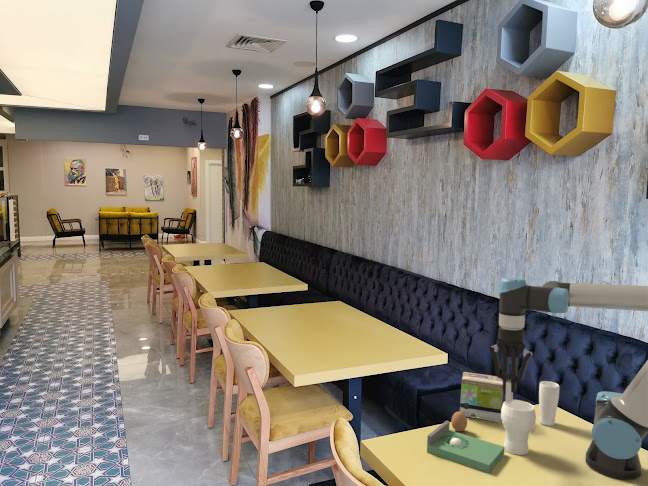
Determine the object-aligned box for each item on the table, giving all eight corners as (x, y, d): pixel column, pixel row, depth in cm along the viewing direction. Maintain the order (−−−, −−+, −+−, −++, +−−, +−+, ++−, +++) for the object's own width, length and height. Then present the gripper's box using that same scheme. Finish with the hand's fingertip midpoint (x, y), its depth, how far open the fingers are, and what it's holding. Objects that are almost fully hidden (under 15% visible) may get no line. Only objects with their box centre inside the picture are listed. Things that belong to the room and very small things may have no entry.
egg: (448, 427, 183) (449, 408, 182) (463, 427, 184) (464, 408, 183) (454, 434, 178) (455, 414, 177) (469, 434, 178) (470, 414, 178)
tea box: (459, 417, 193) (461, 378, 192) (460, 407, 202) (462, 370, 201) (501, 423, 188) (503, 384, 187) (500, 413, 198) (502, 375, 197)
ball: (454, 448, 168) (465, 447, 166) (449, 453, 165) (461, 452, 163) (450, 436, 169) (461, 435, 167) (446, 440, 166) (457, 439, 163)
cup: (536, 459, 162) (539, 413, 161) (501, 455, 164) (504, 409, 163) (529, 444, 172) (532, 400, 171) (496, 440, 174) (499, 397, 173)
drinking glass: (542, 418, 194) (545, 379, 193) (560, 424, 189) (563, 384, 188) (533, 422, 190) (536, 383, 189) (551, 428, 185) (554, 388, 184)
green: (504, 454, 164) (505, 437, 164) (488, 473, 152) (489, 455, 152) (445, 435, 176) (446, 420, 176) (426, 452, 164) (427, 435, 164)
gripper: (536, 328, 158) (533, 402, 160) (494, 322, 166) (491, 393, 167) (530, 332, 152) (527, 410, 154) (486, 326, 160) (484, 400, 161)
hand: (509, 401), depth 160 cm, fingers closed
